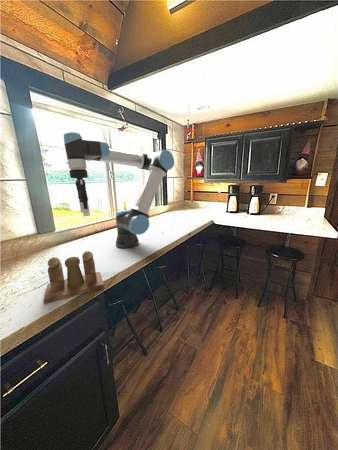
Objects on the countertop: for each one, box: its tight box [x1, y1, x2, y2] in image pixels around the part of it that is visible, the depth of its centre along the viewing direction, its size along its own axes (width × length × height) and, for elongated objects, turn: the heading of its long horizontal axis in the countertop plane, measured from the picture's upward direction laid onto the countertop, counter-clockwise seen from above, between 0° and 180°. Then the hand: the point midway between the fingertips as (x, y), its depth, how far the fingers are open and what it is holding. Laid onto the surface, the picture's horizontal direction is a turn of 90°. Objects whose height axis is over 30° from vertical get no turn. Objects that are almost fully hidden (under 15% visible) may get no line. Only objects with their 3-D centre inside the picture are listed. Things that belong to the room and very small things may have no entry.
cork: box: [64, 256, 84, 288], centre depth 71 cm, size 6×6×11 cm
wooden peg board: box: [43, 250, 105, 304], centre depth 71 cm, size 20×12×14 cm, turn 118°
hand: (85, 214), depth 90 cm, fingers open, 13 cm apart
